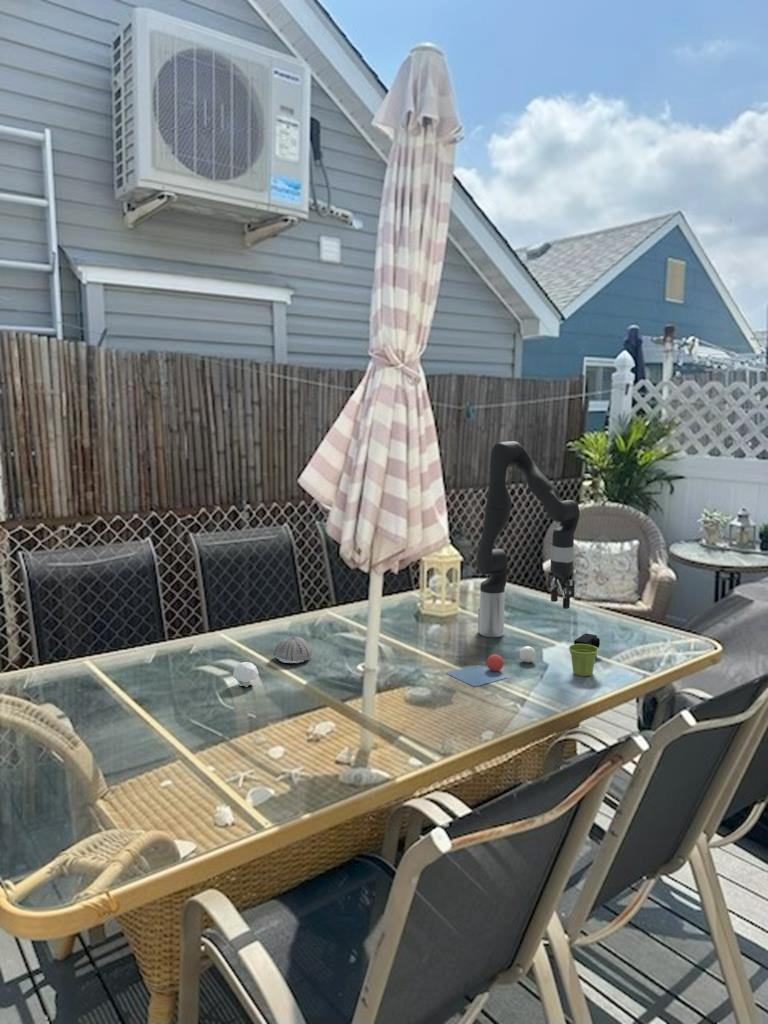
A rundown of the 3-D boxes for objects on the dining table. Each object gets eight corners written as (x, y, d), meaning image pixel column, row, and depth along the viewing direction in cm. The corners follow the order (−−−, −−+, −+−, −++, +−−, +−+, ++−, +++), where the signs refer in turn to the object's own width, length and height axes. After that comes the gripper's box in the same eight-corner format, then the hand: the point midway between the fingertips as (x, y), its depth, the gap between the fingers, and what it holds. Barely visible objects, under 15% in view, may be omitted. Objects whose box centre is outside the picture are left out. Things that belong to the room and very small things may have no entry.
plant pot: (564, 675, 233) (565, 650, 231) (571, 666, 241) (572, 642, 240) (594, 680, 228) (595, 654, 227) (600, 671, 237) (601, 646, 235)
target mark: (446, 673, 235) (446, 673, 235) (478, 665, 242) (478, 664, 242) (474, 687, 223) (474, 686, 223) (507, 677, 231) (507, 677, 231)
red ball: (483, 670, 238) (483, 654, 237) (495, 666, 241) (495, 651, 240) (494, 675, 233) (494, 658, 233) (506, 671, 236) (507, 655, 236)
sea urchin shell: (315, 654, 254) (315, 632, 253) (308, 667, 241) (307, 644, 240) (279, 652, 256) (278, 631, 254) (269, 666, 242) (268, 643, 241)
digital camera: (588, 662, 245) (589, 643, 244) (573, 659, 248) (574, 640, 247) (599, 654, 253) (600, 635, 252) (584, 651, 256) (585, 632, 255)
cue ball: (515, 661, 246) (516, 645, 245) (527, 658, 249) (527, 642, 248) (527, 665, 242) (527, 650, 241) (539, 662, 245) (539, 647, 244)
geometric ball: (250, 696, 223) (252, 682, 218) (227, 685, 224) (228, 671, 219) (261, 677, 229) (263, 663, 223) (239, 667, 230) (241, 653, 224)
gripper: (542, 554, 249) (540, 600, 251) (562, 564, 235) (560, 611, 238) (562, 553, 251) (559, 598, 253) (582, 562, 237) (580, 610, 240)
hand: (559, 604), depth 246 cm, fingers open, 8 cm apart
